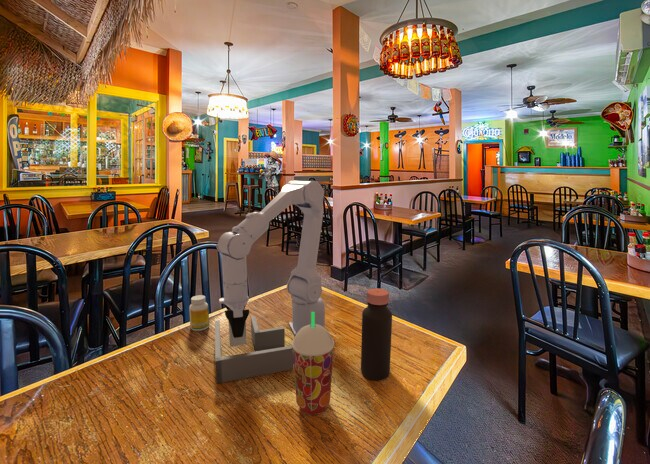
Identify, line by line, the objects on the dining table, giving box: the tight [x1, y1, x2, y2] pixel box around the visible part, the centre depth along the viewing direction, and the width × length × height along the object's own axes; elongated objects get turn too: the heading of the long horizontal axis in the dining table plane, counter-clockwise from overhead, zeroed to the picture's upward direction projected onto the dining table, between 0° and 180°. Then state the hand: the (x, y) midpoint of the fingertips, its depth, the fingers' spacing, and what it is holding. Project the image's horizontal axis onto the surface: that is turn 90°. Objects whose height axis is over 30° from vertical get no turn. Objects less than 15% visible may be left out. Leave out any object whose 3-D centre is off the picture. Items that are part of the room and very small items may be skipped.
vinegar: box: [360, 287, 393, 382], centre depth 75 cm, size 7×7×20 cm
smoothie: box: [291, 312, 335, 416], centre depth 65 cm, size 8×8×20 cm
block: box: [228, 308, 248, 347], centre depth 83 cm, size 4×4×8 cm
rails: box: [214, 315, 294, 384], centre depth 85 cm, size 18×21×6 cm
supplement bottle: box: [188, 294, 210, 332], centre depth 98 cm, size 5×5×10 cm
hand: (237, 332), depth 83 cm, fingers closed on block, 4 cm apart
